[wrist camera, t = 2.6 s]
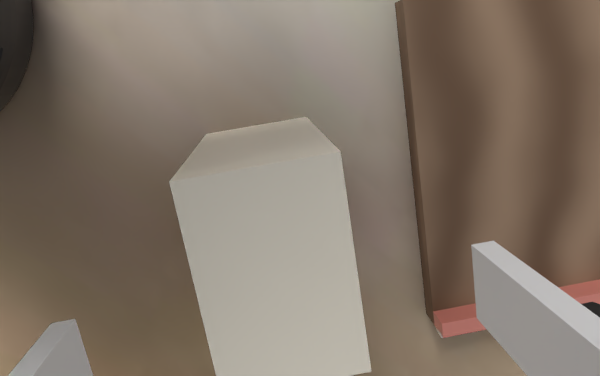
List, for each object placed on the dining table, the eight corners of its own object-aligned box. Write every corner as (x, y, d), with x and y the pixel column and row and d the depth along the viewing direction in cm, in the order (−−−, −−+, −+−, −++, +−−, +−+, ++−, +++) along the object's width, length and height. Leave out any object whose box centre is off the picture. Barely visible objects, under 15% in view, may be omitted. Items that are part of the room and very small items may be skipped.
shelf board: (426, 313, 32) (434, 325, 30) (395, 2, 27) (402, -1, 25) (650, 270, 33) (668, 279, 31) (662, -41, 27) (684, -47, 26)
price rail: (434, 327, 30) (443, 340, 29) (432, 311, 30) (441, 323, 29) (668, 282, 31) (688, 292, 30) (669, 265, 31) (689, 275, 29)
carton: (236, 272, 30) (222, 401, 18) (206, 133, 28) (168, 181, 16) (330, 254, 30) (375, 370, 19) (308, 116, 28) (344, 150, 16)
